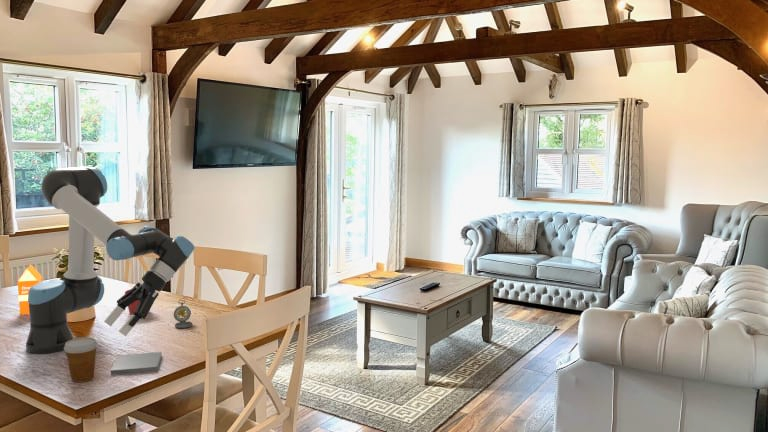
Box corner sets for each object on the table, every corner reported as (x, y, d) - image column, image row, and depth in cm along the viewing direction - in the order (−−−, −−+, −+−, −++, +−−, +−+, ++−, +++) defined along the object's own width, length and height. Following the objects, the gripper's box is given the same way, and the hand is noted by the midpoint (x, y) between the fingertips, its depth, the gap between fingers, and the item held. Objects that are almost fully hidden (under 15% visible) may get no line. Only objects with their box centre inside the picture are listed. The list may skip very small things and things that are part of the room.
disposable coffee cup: (58, 381, 188) (56, 344, 187) (83, 370, 197) (81, 335, 195) (81, 386, 185) (79, 348, 183) (106, 375, 194) (104, 339, 192)
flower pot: (119, 314, 259) (118, 292, 257) (139, 307, 269) (138, 286, 268) (139, 317, 255) (137, 295, 254) (157, 310, 265) (156, 289, 264)
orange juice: (44, 308, 268) (41, 263, 265) (40, 313, 259) (36, 267, 257) (24, 309, 265) (21, 264, 263) (19, 315, 257) (16, 269, 254)
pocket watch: (182, 330, 239) (181, 305, 238) (168, 326, 243) (167, 302, 242) (198, 324, 246) (197, 300, 245) (184, 321, 250) (183, 297, 249)
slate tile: (110, 374, 194) (110, 370, 194) (118, 359, 207) (118, 355, 207) (157, 371, 197) (156, 366, 197) (161, 355, 211) (161, 351, 211)
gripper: (181, 289, 197) (137, 344, 189) (151, 276, 215) (110, 326, 207) (165, 276, 193) (119, 331, 184) (135, 263, 211) (92, 314, 203)
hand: (114, 328), depth 196 cm, fingers open, 13 cm apart
